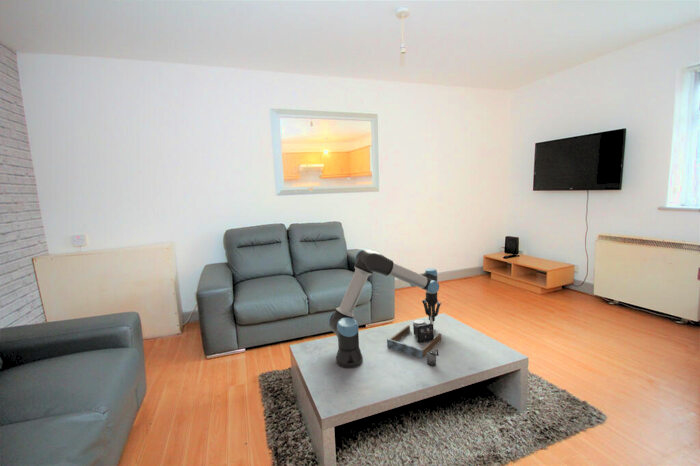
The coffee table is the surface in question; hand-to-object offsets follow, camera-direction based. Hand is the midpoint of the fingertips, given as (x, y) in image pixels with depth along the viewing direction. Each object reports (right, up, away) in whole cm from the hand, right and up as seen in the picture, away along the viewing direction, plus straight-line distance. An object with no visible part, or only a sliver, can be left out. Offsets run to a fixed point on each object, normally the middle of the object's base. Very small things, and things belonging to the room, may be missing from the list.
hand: (431, 325), depth 213 cm
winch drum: (-11, -9, -41) cm, 43 cm away
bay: (-15, -6, -18) cm, 25 cm away
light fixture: (-10, -5, -11) cm, 16 cm away
